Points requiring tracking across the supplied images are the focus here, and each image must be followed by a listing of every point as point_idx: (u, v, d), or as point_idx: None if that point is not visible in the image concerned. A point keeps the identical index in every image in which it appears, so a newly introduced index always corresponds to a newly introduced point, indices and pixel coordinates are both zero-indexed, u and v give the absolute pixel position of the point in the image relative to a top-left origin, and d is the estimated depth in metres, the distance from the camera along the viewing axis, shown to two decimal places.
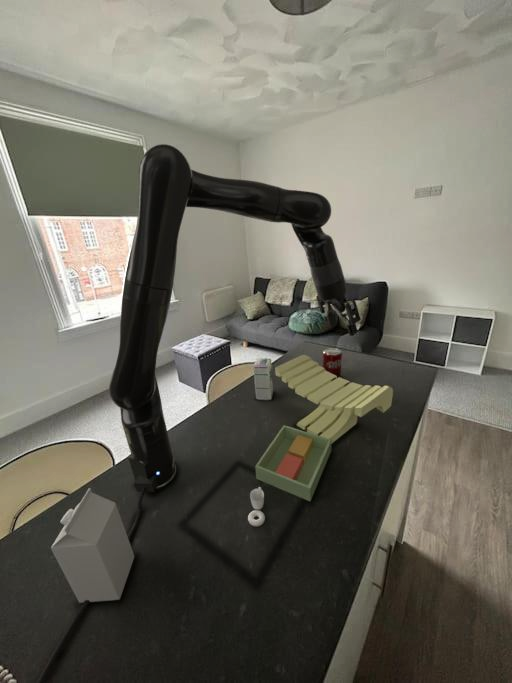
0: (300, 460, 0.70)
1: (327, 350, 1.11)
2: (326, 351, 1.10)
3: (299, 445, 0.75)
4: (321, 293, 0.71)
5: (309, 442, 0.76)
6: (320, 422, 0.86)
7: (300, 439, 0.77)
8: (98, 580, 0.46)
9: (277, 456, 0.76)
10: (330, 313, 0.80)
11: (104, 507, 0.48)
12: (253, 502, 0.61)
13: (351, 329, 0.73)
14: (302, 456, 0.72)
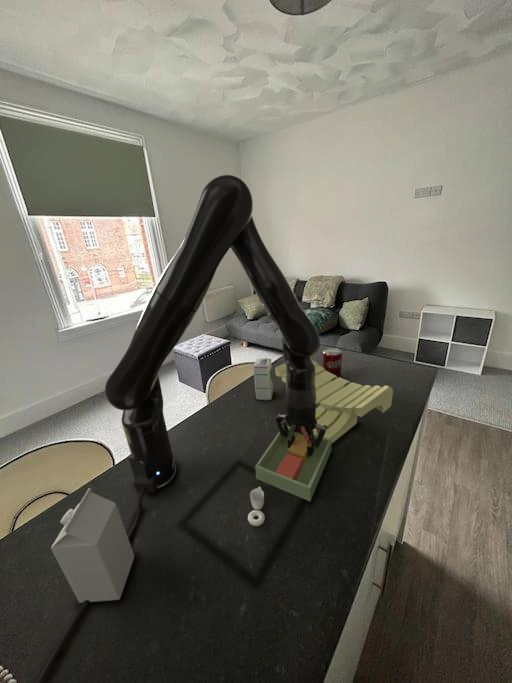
0: (300, 460, 0.70)
1: (327, 350, 1.11)
2: (326, 351, 1.10)
3: (299, 445, 0.75)
4: (299, 416, 0.67)
5: None
6: (320, 422, 0.86)
7: (300, 439, 0.77)
8: (98, 580, 0.46)
9: (277, 456, 0.76)
10: (292, 436, 0.76)
11: (104, 507, 0.48)
12: (253, 502, 0.61)
13: (311, 450, 0.73)
14: (302, 456, 0.72)
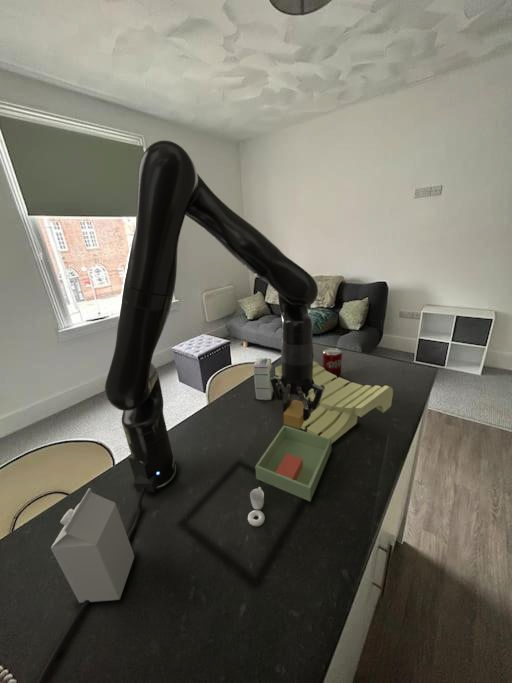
0: (300, 460, 0.70)
1: (327, 350, 1.11)
2: (326, 351, 1.10)
3: (295, 409, 0.71)
4: (295, 373, 0.64)
5: None
6: (320, 422, 0.86)
7: (296, 403, 0.74)
8: (98, 580, 0.46)
9: (277, 456, 0.76)
10: (288, 399, 0.72)
11: (104, 507, 0.48)
12: (253, 502, 0.61)
13: (307, 413, 0.70)
14: (298, 418, 0.68)
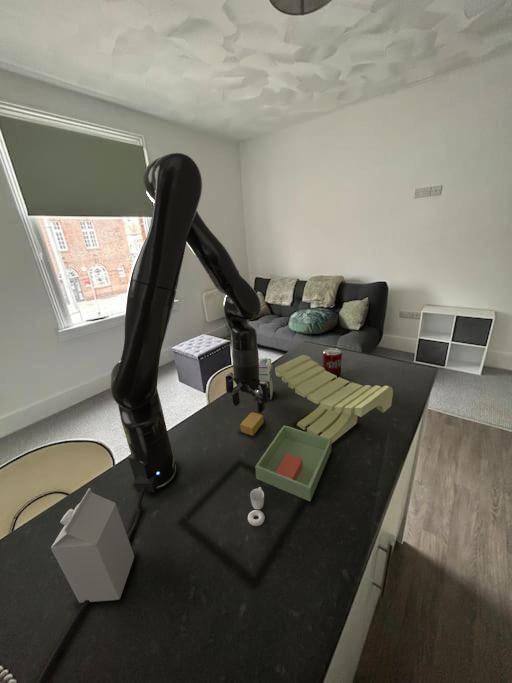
0: (300, 460, 0.70)
1: (327, 350, 1.11)
2: (326, 351, 1.10)
3: (250, 420, 0.87)
4: (242, 374, 0.77)
5: (259, 418, 0.88)
6: (320, 422, 0.86)
7: (252, 415, 0.89)
8: (98, 580, 0.46)
9: (277, 456, 0.76)
10: (236, 392, 0.86)
11: (104, 507, 0.48)
12: (253, 502, 0.61)
13: (261, 407, 0.82)
14: (251, 428, 0.84)
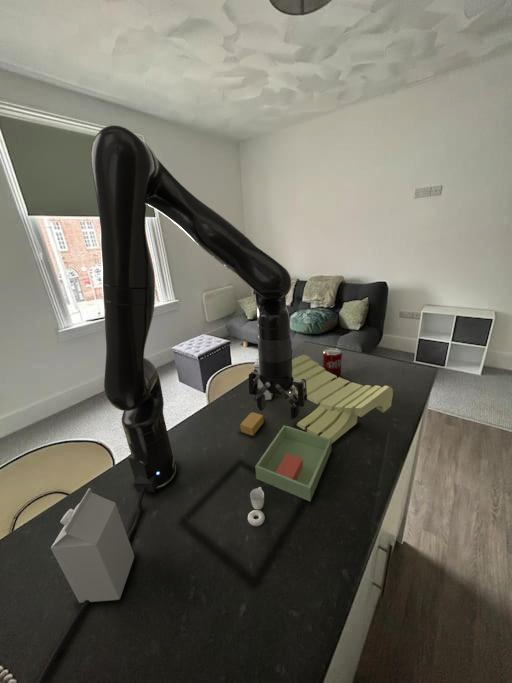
0: (300, 460, 0.70)
1: (327, 350, 1.11)
2: (326, 351, 1.10)
3: (250, 420, 0.87)
4: (273, 371, 0.60)
5: (259, 418, 0.88)
6: (320, 422, 0.86)
7: (252, 415, 0.89)
8: (98, 580, 0.46)
9: (277, 456, 0.76)
10: None
11: (104, 507, 0.48)
12: (253, 502, 0.61)
13: (295, 412, 0.65)
14: (251, 428, 0.84)
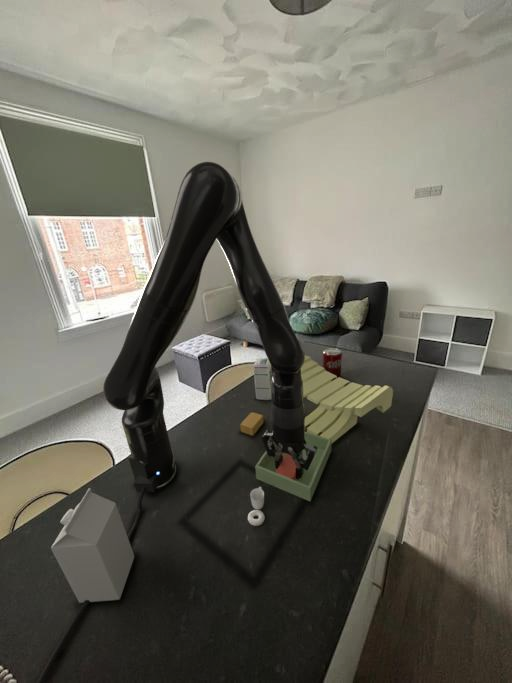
0: None
1: (327, 350, 1.11)
2: (326, 351, 1.10)
3: (250, 420, 0.87)
4: (286, 436, 0.61)
5: (259, 418, 0.88)
6: (320, 422, 0.86)
7: (252, 415, 0.89)
8: (98, 580, 0.46)
9: None
10: (280, 456, 0.69)
11: (104, 507, 0.48)
12: (253, 501, 0.61)
13: (300, 473, 0.67)
14: (251, 428, 0.84)
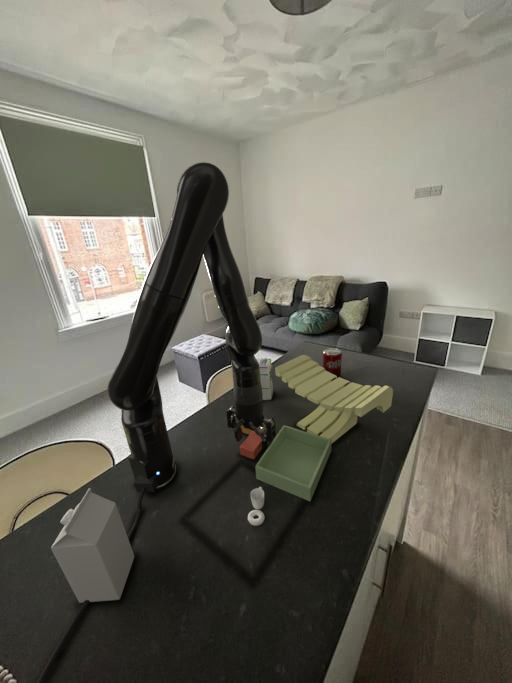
0: None
1: (327, 350, 1.11)
2: (326, 351, 1.10)
3: None
4: (245, 412, 0.71)
5: None
6: (320, 422, 0.86)
7: None
8: (98, 580, 0.46)
9: (277, 456, 0.76)
10: (238, 427, 0.79)
11: (104, 507, 0.48)
12: (253, 501, 0.61)
13: (266, 445, 0.75)
14: None
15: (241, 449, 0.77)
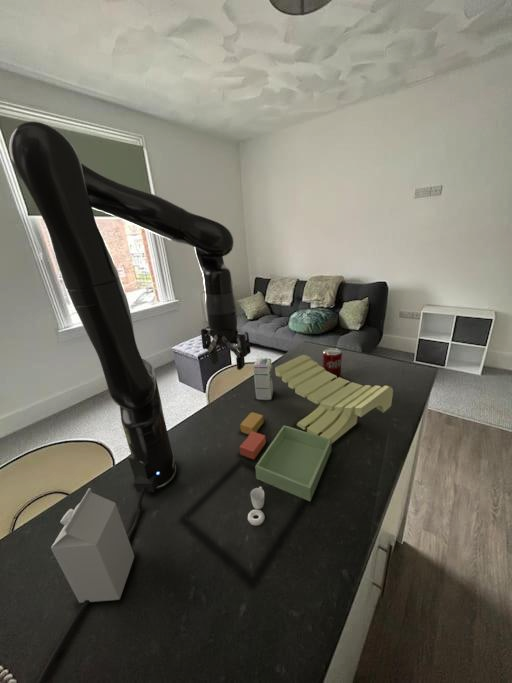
0: (263, 436, 0.80)
1: (327, 350, 1.11)
2: (326, 351, 1.10)
3: (250, 420, 0.87)
4: (217, 323, 0.68)
5: (259, 418, 0.88)
6: (320, 422, 0.86)
7: (252, 415, 0.89)
8: (98, 580, 0.46)
9: (277, 456, 0.76)
10: (214, 349, 0.77)
11: (104, 507, 0.48)
12: (253, 501, 0.61)
13: (240, 362, 0.73)
14: (251, 428, 0.84)
15: (241, 449, 0.77)
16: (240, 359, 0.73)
